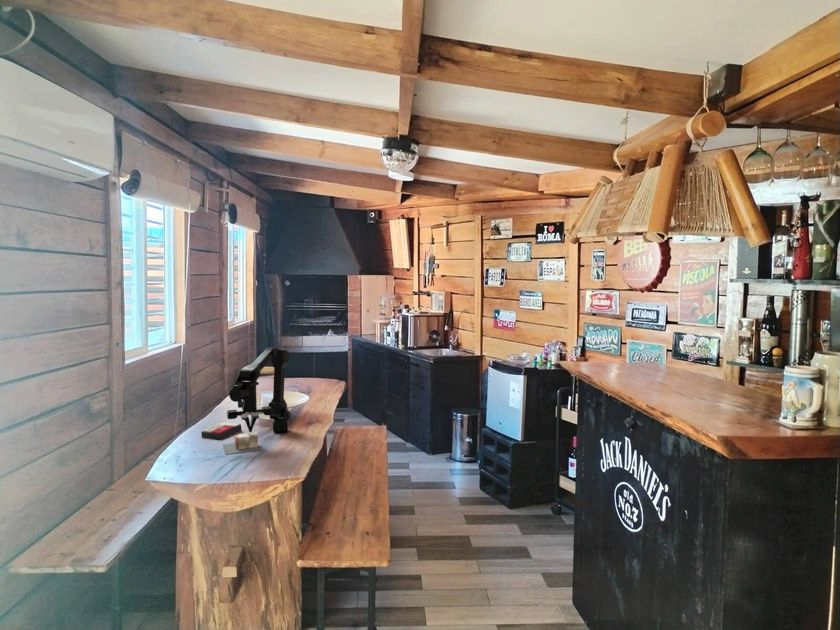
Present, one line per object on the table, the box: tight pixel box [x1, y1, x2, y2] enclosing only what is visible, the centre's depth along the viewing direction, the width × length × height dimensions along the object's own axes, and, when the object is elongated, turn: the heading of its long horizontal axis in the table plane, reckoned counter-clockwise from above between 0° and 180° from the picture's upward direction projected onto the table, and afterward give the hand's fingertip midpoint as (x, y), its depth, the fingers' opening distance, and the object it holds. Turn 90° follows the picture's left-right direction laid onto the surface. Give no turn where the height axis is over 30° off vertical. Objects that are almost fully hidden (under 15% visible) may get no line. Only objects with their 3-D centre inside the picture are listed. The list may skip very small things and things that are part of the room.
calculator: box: [200, 421, 242, 441], centre depth 252 cm, size 11×4×15 cm
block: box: [234, 432, 259, 449], centre depth 233 cm, size 5×5×9 cm
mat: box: [222, 442, 259, 455], centre depth 232 cm, size 13×14×1 cm
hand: (250, 431), depth 233 cm, fingers closed
